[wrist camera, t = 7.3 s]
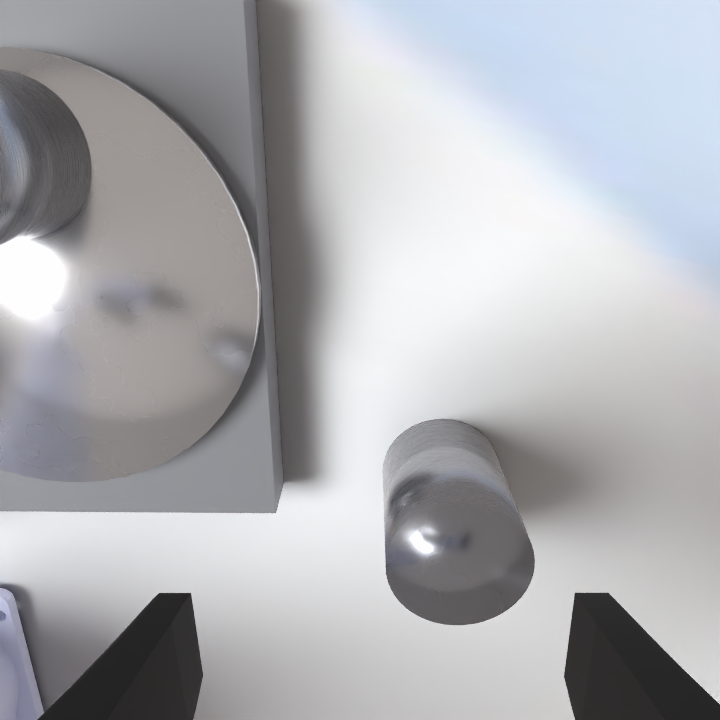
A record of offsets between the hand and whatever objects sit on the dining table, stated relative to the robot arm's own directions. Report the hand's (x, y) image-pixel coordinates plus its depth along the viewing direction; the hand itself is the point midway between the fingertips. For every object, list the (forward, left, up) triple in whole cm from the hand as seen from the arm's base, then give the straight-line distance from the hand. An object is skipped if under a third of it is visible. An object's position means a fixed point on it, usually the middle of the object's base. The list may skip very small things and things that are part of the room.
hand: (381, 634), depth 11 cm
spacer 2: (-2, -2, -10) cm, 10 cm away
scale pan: (+5, +9, -8) cm, 13 cm away
